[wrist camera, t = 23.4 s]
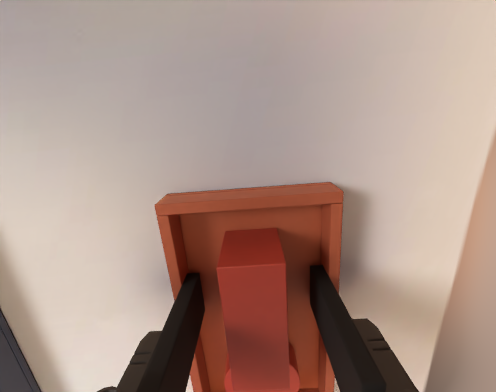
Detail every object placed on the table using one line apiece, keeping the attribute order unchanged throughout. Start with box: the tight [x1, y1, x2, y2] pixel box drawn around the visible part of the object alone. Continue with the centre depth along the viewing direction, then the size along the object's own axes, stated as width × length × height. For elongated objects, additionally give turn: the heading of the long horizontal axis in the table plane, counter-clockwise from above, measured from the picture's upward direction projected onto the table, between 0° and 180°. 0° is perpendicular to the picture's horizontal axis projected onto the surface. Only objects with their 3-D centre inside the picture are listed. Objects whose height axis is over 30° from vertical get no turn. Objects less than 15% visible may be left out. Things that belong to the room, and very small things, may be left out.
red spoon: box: [216, 228, 300, 392], centre depth 13 cm, size 12×5×4 cm, turn 4°
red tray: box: [155, 182, 344, 392], centre depth 14 cm, size 16×9×2 cm, turn 4°
